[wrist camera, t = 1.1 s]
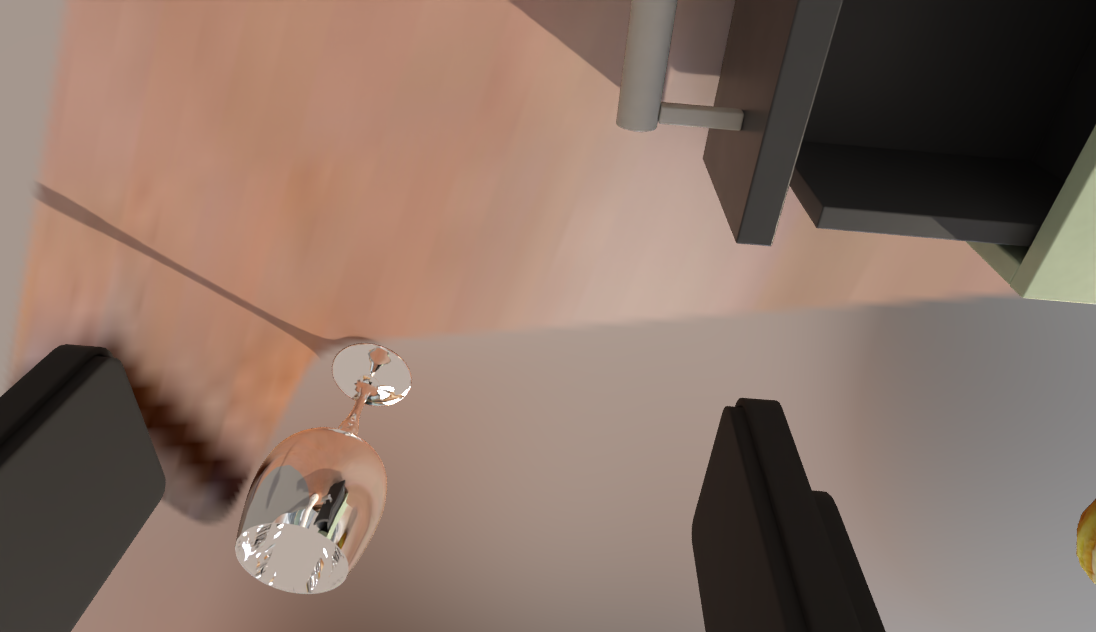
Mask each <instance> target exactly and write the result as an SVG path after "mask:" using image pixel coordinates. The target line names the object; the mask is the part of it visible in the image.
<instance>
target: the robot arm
mask: <svg viewBox="0 0 1096 632" xmlns="http://www.w3.org/2000/svg"><path fill="white" fill-rule="evenodd" d="M164 490H165V475H164V473H163V470H162V468H161V465H160V462H159V460H158V457H157V454H156V452H155V449H154V446H153V444H152V441H151V438H150V436H149V433H148V431H147V428H146V425H145V423H144V420H143V417H142V415H141V412H140V409H139V407H138V404H137V402H136V399H135V396H134V394H133V391H132V388H131V386H130V383H129V380H128V378H127V375H126V373H125V370H124V367H123V365H122V363H121V361H120V360H118V359H117V358H114V357H113V355H112V354H111V352H110V351H109V350H107V349H106V348H102V347H94V346H81V345H68V344H65V345H61V346H59V347H57V348H55V349H54V350H53V351H52V352H50V353H49V354H48V355H47V356H46V357H45V358H44V359H43V360H41V361H40V362H39V363H38V364H37V365H36V366H35V367H34V368H32V369H31V370H30V371H29V372H28V373H27V374H26V375H25V376H23V377H22V378H21V379H20V380H19V381H18V382H17V383H16V384H14V385H13V386H12V387H11V388H10V389H9V390H8V391H7V392H6V393H4V394H3V395H2V396H1V397H0V632H71V630H72V629H73V628H74V626H75V625H76V623H77V622H78V620H79V619H80V617H81V616H82V614H83V613H84V611H85V610H86V608H87V607H88V605H89V604H90V603H91V601H92V600H93V598H94V597H95V595H96V594H97V592H98V591H99V589H100V588H101V586H102V585H103V583H104V582H105V581H106V579H107V578H108V576H109V575H110V573H111V572H112V570H113V569H114V568H115V566H116V565H117V563H118V562H119V560H120V559H121V557H122V556H123V554H124V553H125V551H126V550H127V548H128V547H129V546H130V544H131V543H132V541H133V540H134V538H135V537H136V535H137V534H138V532H139V531H140V529H141V528H142V527H143V525H144V523H145V522H146V521H147V519H148V518H149V516H150V515H151V513H152V512H153V510H154V509H155V507H156V506H157V505H158V503H159V502H160V500H161V498H162V496H163V493H164ZM692 545H693V552H694V557H695V565H696V571H697V578H698V584H699V591H700V597H701V604H702V611H703V617H704V624H705V630H706V632H885V629H884V626H883V624H882V621H881V619H880V616H879V613H878V611H877V608H876V606H875V603H874V601H873V598H872V595H871V593H870V590H869V588H868V585H867V583H866V580H865V577H864V575H863V573H862V570H861V567H860V565H859V562H858V560H857V557H856V554H855V552H854V549H853V547H852V544H851V542H850V540H849V536H848V534H847V531H846V529H845V526H844V524H843V521H842V518H841V516H840V513H839V511H838V508H837V506H836V504H835V502H834V500H833V498H832V497H831V496H830V495H829V494H828V493H827V492H822V491H812V490H811V487H810V485H809V482H808V479H807V476H806V473H805V471H804V468H803V465H802V462H801V460H800V457H799V454H798V451H797V448H796V445H795V443H794V440H793V437H792V434H791V432H790V429H789V426H788V423H787V420H786V418H785V415H784V412H783V409H782V407H781V405H780V403H779V402H778V401H775V400H762V399H748V398H740V399H739V400H738V401H737V403H736V405H735V407H730V406H726V407H725V408H724V410H723V413H722V416H721V420H720V424H719V427H718V431H717V435H716V438H715V442H714V445H713V449H712V453H711V457H710V460H709V464H708V467H707V471H706V474H705V478H704V482H703V485H702V489H701V493H700V496H699V500H698V504H697V507H696V511H695V515H694V519H693V524H692Z"/></svg>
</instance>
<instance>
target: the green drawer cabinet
mask: <svg viewBox="0 0 1096 632" xmlns="http://www.w3.org/2000/svg"><path fill="white" fill-rule="evenodd" d="M966 242H967V243H968V244H969V245H970V246H971V247H972V248H973V249H974V250H975V251H976V252H977V253H978V254H979V255H980V256H981V257H982V258H983V259H984V260H985V261H986V262H987V263H988V264H989V265H990V266H991V267H992V268H993V269H994V270H995V271H996V272H997V273H998V274H999V275H1000V276H1001V277H1002V278H1003V279H1004V280H1005V281H1006V282H1007V283H1008V284H1010V286H1011V287H1012V288H1013V289H1014V290H1015V291H1016V292H1017V293H1018V294H1019V295H1020V296H1021V297H1022V298H1030V299H1041V300H1054V301H1064V302H1075V303H1087V304H1096V125H1095V127H1094V129H1093V131H1092V133H1091V134H1090V136H1089V138H1088V140H1087V142H1086V144H1085V146H1084V148H1083V149H1082V151H1081V153H1080V155H1079V157H1078V159H1077V161H1076V162H1075V164H1074V166H1073V168H1072V170H1071V172H1070V174H1069V176H1068V177H1067V179H1066V181H1065V183H1064V185H1063V187H1062V189H1061V190H1060V192H1059V194H1058V196H1057V198H1056V200H1055V202H1054V204H1053V205H1052V207H1051V209H1050V211H1049V213H1048V215H1047V217H1046V218H1045V220H1044V222H1043V224H1042V226H1041V228H1040V230H1039V232H1038V233H1037V235H1036V237H1035V239H1034V241H1033V243H1032V245H1031V246H1030V247H1028V246H1016V245H1005V244H993V243H982V242H970V241H966Z"/></svg>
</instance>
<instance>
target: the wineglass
mask: <svg viewBox="0 0 1096 632" xmlns="http://www.w3.org/2000/svg"><path fill="white" fill-rule="evenodd" d="M332 375H333V378H334V380H335V382H336V384H337V385H338V387H339V388H340V390H341V391H343V393H345V394H346V395H347V396H348V397H350V398H352V399H353V400H355V401H356V403H355V405H354V407H353V410H352V411H351V413H350V414H349V415H348V417H347V418H346V420H345V421H343V422H342V423H341V425H340V426H339V427H338V429H336V428H328V427H319V428H311V429H308V430H303V431H300V432H298V433H296V434H293V435H291V436H290V437H288V438H286V439H285V440H283V441H282V442H281V443H280V444H279V445H277V446H276V447H275V448H274V449H273V450H272V452H271V453H270V454H269V455H268V457H267V458H266V459H265V461H264V462H263V463H262V465H261V467H260V468H259V470H258V472H257V474H256V476H255V478H254V480H253V482H252V485H251V487H250V490H249V493H248V495H247V499H246V502H245V506H244V509H243V513H242V517H241V520H240V524H239V529H238V534H237V539H236V545H235V551H236V556H237V559H238V561H239V562H240V564H241V565H242V566H243V568H244V569H245V570H246V571H247V572H248V573H249V574H251V575H252V576H253V577H255V578H256V579H258V580H259V581H261V582H263V583H265V584H267V585H269V586H272V587H274V588H277V589H280V590H283V591H288V592H293V593H301V594H314V593H322V592H326V591H329V590H332V589H334V588H336V587H338V586H339V585H340V584H342V582H343V581H344V580H345V579H346V578H347V576H348V575H349V573H350V572H351V570H352V569H353V567H354V566H355V564H356V563H357V561H358V560H359V558H360V557H361V555H362V554H363V552H364V551H365V549H366V547H367V545H368V544H369V542H370V540H371V538H372V536H373V534H374V532H375V530H376V528H377V525H378V523H379V520H380V518H381V515H382V513H383V509H384V505H385V500H386V494H387V476H386V472H385V469H384V466H383V464H382V461H381V459H380V458H379V456H378V454H377V453H376V452H375V450H374V449H373V448H372V447H371V446H370V445H369V444H368V443H367V442H366V441H364V440H363V439H361V438H360V437H358V436H357V434H358V429H359V425H358V423H359V416H360V413H361V410H362V408H363V406H364V404H365V405H370V406H387V405H392V404H394V403H397V402H399V401H400V400H401V399H403V398H404V397H405V396H406V395H407V394H408V392H409V390H410V388H411V384H412V377H411V373H410V370H409V368H408V366H407V365H406V363H405V362H404V360H403V359H402V358H401V357H400V356H399V355H397V354H396V353H395V352H393V351H392V350H389V349H388V348H385V347H383V346H380V345H376V344H370V343H359V344H354V345H350V346H348V347H346V348H344V349H342V350H341V351H340V352H339V353H338V354H337V355H336V357H335V358H334V361H333V364H332Z"/></svg>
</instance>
